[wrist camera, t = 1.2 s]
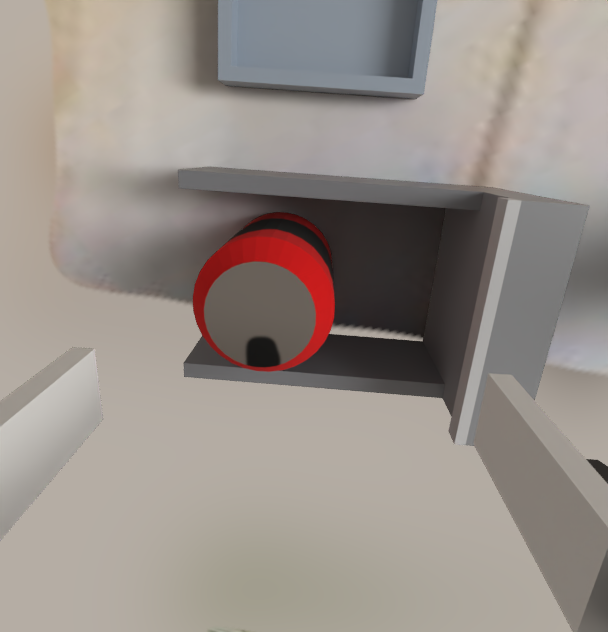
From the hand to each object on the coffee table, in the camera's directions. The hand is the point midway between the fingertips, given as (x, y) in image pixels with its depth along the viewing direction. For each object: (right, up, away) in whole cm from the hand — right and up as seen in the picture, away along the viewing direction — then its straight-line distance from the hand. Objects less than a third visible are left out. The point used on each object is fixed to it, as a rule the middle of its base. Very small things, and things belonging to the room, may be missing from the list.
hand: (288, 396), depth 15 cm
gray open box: (+3, +6, +18) cm, 20 cm away
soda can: (-1, +7, +19) cm, 20 cm away
